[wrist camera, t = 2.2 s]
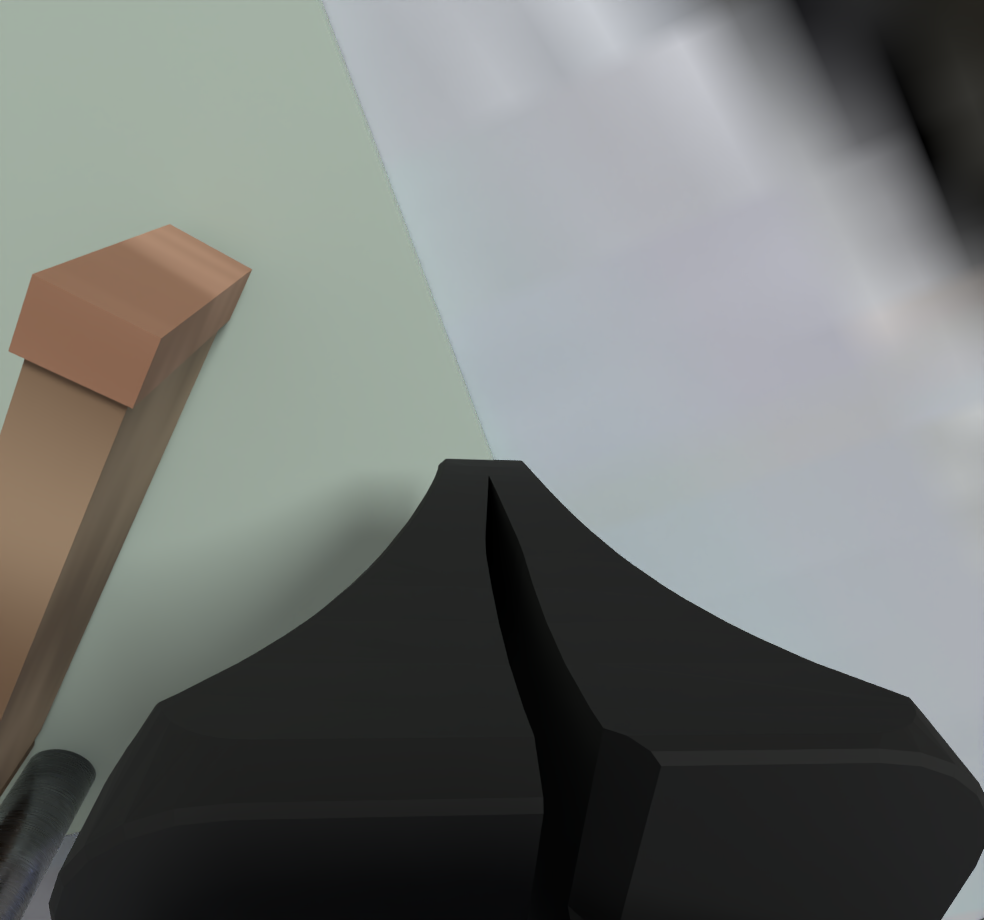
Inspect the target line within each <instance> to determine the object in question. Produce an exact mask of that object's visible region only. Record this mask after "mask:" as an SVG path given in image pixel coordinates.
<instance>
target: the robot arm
mask: <svg viewBox="0 0 984 920" xmlns="http://www.w3.org/2000/svg"><path fill="white" fill-rule="evenodd" d="M983 849H984V792H983V790H982V788H981V786H980V784H979V782H978V781H977V780H976V779H975V777H974V776H973V775H972V774H971V772H970V771H969V770H968V769H967V767H966V766H965V765H964V764H963V763H962V761H961V760H960V759H959V758H958V756H957V755H956V754H955V753H954V751H953V750H952V749H951V748H950V746H949V745H948V744H947V743H946V741H945V740H944V739H943V738H942V737H941V735H940V734H939V733H938V732H937V730H936V729H935V728H934V727H933V725H932V724H931V723H930V722H929V720H928V719H927V718H926V717H925V716H924V714H923V713H922V712H921V711H920V710H919V708H918V707H917V706H916V705H915V704H914V702H913V701H912V700H911V699H910V698H909V697H906V696H904V695H901V694H898V693H895V692H893V691H890V690H887V689H885V688H882V687H879V686H876V685H874V684H871V683H868V682H866V681H863V680H860V679H858V678H855V677H852V676H849V675H847V674H844V673H841V672H839V671H836V670H833V669H831V668H828V667H825V666H822V665H820V664H817V663H814V662H812V661H810V660H807V659H805V658H802V657H800V656H798V655H796V654H793V653H791V652H789V651H787V650H785V649H782V648H780V647H778V646H776V645H773V644H771V643H769V642H767V641H764V640H762V639H760V638H758V637H756V636H754V635H752V634H750V633H747V632H745V631H743V630H741V629H739V628H737V627H735V626H733V625H731V624H729V623H727V622H725V621H724V620H722V619H720V618H718V617H716V616H714V615H713V614H711V613H709V612H707V611H706V610H704V609H702V608H700V607H698V606H697V605H695V604H693V603H691V602H689V601H688V600H686V599H684V598H682V597H681V596H679V595H678V594H676V593H674V592H673V591H671V590H669V589H668V588H666V587H665V586H663V585H662V584H660V583H659V582H657V581H656V580H654V579H653V578H651V577H650V576H648V575H647V574H646V573H644V572H643V571H641V570H640V569H638V568H637V567H635V566H634V565H632V564H631V563H630V562H628V561H627V560H626V559H624V558H623V557H622V556H620V555H619V554H618V553H617V552H615V551H614V550H613V549H612V548H611V547H609V546H608V545H607V544H606V543H605V542H603V541H602V540H601V539H600V538H599V537H597V536H596V535H595V534H594V533H593V532H591V531H590V530H589V529H588V528H587V527H586V526H585V525H584V524H583V523H582V522H580V521H579V520H578V519H577V518H576V517H575V516H574V515H573V514H572V513H571V512H570V511H569V510H568V509H567V508H566V507H565V506H564V505H563V504H562V503H561V502H560V501H559V500H558V499H557V498H556V497H555V496H554V495H553V494H552V493H551V492H550V491H549V490H548V489H547V488H546V487H545V485H544V484H543V483H542V482H541V481H540V480H539V479H538V478H537V477H536V476H535V475H534V473H533V472H532V471H531V470H530V469H529V468H528V467H527V466H526V465H525V464H524V463H523V462H522V461H515V460H477V459H445V460H444V461H442V462H441V463H440V464H439V465H438V470H437V472H436V475H435V477H434V480H433V482H432V484H431V486H430V487H429V489H428V491H427V493H426V495H425V496H424V498H423V499H422V501H421V502H420V504H419V505H418V507H417V508H416V510H415V512H414V513H413V515H412V516H411V518H410V519H409V520H408V522H407V523H406V524H405V526H404V527H403V528H402V529H401V531H400V532H399V533H398V534H397V536H396V537H395V538H394V539H393V541H392V542H391V543H390V544H389V546H388V547H387V548H386V549H385V550H384V551H383V553H382V554H381V555H380V556H379V557H378V558H377V559H376V560H375V561H374V562H373V563H372V564H371V565H370V566H369V568H368V569H367V570H365V571H364V572H363V573H362V574H361V575H360V576H359V577H358V578H357V579H356V580H355V581H354V582H353V583H352V584H351V585H350V586H349V587H347V588H346V589H345V590H344V591H343V592H342V593H340V594H339V595H338V596H337V597H336V598H334V599H333V600H332V601H331V602H330V603H329V604H327V605H326V606H325V607H324V608H323V609H321V610H320V611H319V612H317V613H316V614H315V615H314V616H312V617H311V618H309V619H308V620H307V621H305V622H304V623H302V624H301V625H299V626H298V627H296V628H295V629H293V630H292V631H290V632H289V633H287V634H286V635H284V636H283V637H281V638H279V639H278V640H276V641H274V642H273V643H271V644H270V645H268V646H266V647H265V648H263V649H261V650H260V651H258V652H256V653H255V654H253V655H251V656H249V657H248V658H246V659H244V660H242V661H241V662H239V663H237V664H235V665H233V666H231V667H229V668H227V669H225V670H223V671H221V672H219V673H217V674H215V675H213V676H211V677H209V678H207V679H205V680H203V681H201V682H200V683H198V684H196V685H194V686H192V687H190V688H188V689H186V690H184V691H182V692H180V693H178V694H176V695H174V696H171V697H169V698H167V699H165V700H163V701H161V702H159V703H157V704H156V705H155V707H154V708H153V710H152V711H151V713H150V715H149V716H148V718H147V719H146V721H145V722H144V724H143V725H142V727H141V728H140V730H139V731H138V733H137V734H136V736H135V737H134V739H133V740H132V741H131V743H130V744H129V746H128V747H127V748H126V750H125V752H124V753H123V755H122V756H121V758H120V760H119V761H118V763H117V764H116V766H115V767H114V769H113V771H112V772H111V774H110V775H109V777H108V779H107V780H106V782H105V784H104V786H103V788H102V790H101V792H100V794H99V796H98V798H97V800H96V802H95V804H94V805H93V807H92V809H91V811H90V813H89V815H88V817H87V819H86V821H85V823H84V825H83V827H82V829H81V831H80V833H79V835H78V837H77V839H76V841H75V843H74V845H73V847H72V848H71V850H70V852H69V854H68V856H67V858H66V860H65V862H64V864H63V866H62V868H61V870H60V872H59V874H58V877H57V880H56V883H55V886H54V889H53V892H52V895H51V898H50V901H49V908H50V914H51V919H52V920H941V919H942V917H943V916H944V914H945V913H946V911H947V910H948V908H949V907H950V905H951V904H952V902H953V901H954V899H955V897H956V896H957V894H958V893H959V891H960V890H961V888H962V887H963V885H964V884H965V882H966V881H967V879H968V877H969V876H970V874H971V873H972V871H973V870H974V868H975V867H976V865H977V862H978V860H979V858H980V856H981V854H982V851H983Z"/></svg>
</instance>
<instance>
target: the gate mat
mask: <svg viewBox="0 0 984 920" xmlns="http://www.w3.org/2000/svg"><path fill="white" fill-rule="evenodd" d="M168 224H171V225H172V226H174V227H176V228H178V229H180V230H182V231H183V232H185V233H187V234H189V235H191V236H192V237H194V238H196V239H198V240H200V241H202V242H203V243H205V244H207V245H209V246H211V247H212V248H214V249H216V250H218V251H220V252H222V253H223V254H225V255H227V256H229V257H231V258H232V259H234V260H236V261H238V262H240V263H242V264H243V265H245V266H247V267H249V268H251V269H252V271H251V273H250V276H249V278H248V280H247V282H246V284H245V287H244V289H243V291H242V293H241V296H240V298H239V300H238V302H237V305H236V307H235V309H234V311H233V313H232V316H231V318H230V320H229V321H228V322H227V323H226V324H225V325H224V326H222V327H221V328H220V329H219V330H218V332H217V334H216V336H215V339H214V341H213V343H212V345H211V348H210V350H209V352H208V354H207V357H206V359H205V361H204V363H203V366H202V368H201V370H200V372H199V375H198V377H197V379H196V381H195V384H194V386H193V388H192V390H191V393H190V395H189V397H188V399H187V402H186V404H185V406H184V408H183V411H182V413H181V415H180V417H179V420H178V422H177V424H176V426H175V429H174V431H173V433H172V436H171V438H170V440H169V442H168V445H167V447H166V449H165V451H164V454H163V456H162V458H161V460H160V463H159V465H158V467H157V469H156V472H155V474H154V476H153V478H152V481H151V483H150V485H149V487H148V490H147V492H146V494H145V496H144V499H143V501H142V503H141V505H140V508H139V510H138V512H137V514H136V517H135V519H134V521H133V523H132V526H131V528H130V530H129V533H128V535H127V537H126V539H125V542H124V544H123V546H122V548H121V551H120V553H119V555H118V557H117V560H116V562H115V564H114V566H113V569H112V571H111V573H110V575H109V578H108V580H107V582H106V584H105V587H104V589H103V591H102V593H101V596H100V598H99V600H98V602H97V605H96V607H95V609H94V611H93V614H92V616H91V618H90V620H89V623H88V625H87V627H86V630H85V632H84V634H83V636H82V639H81V641H80V643H79V645H78V648H77V650H76V652H75V654H74V657H73V659H72V661H71V663H70V666H69V668H68V670H67V672H66V675H65V677H64V679H63V681H62V684H61V686H60V688H59V690H58V693H57V695H56V697H55V699H54V702H53V704H52V706H51V708H50V711H49V713H48V715H47V717H46V720H45V722H44V724H43V726H42V729H41V731H40V732H39V734H38V735H37V737H36V738H35V740H34V741H35V743H34V747H33V748H32V750H31V751H30V753H29V754H28V756H27V757H26V759H25V761H24V762H23V764H22V765H21V767H20V768H19V770H18V771H17V773H16V774H15V776H14V777H13V779H12V780H11V782H10V783H9V785H8V786H7V788H6V789H5V791H4V792H3V794H2V795H1V797H0V805H1V803H2V802H3V800H4V799H5V797H6V796H7V794H8V792H9V791H10V789H11V788H12V786H13V785H14V783H15V782H16V780H17V779H18V777H19V776H20V774H21V773H22V771H23V769H24V768H25V766H26V765H27V763H28V762H29V760H30V759H31V757H32V756H34V755H35V754H36V753H38V752H41V751H44V750H49V749H62V750H68V751H71V752H74V753H77V754H79V755H81V756H83V757H84V758H86V759H87V760H88V761H89V762H90V763H91V764H92V765H93V767H94V768H95V771H96V778H95V781H94V783H93V784H92V786H91V788H90V790H89V792H88V794H87V796H86V798H85V799H84V801H83V803H82V805H81V807H80V809H79V811H78V813H77V814H76V816H75V818H74V820H73V822H72V824H71V826H70V828H69V830H68V831H67V833H66V835H70V834H73V833H76V832H80V831H81V829H82V827H83V825H84V823H85V821H86V819H87V817H88V815H89V813H90V811H91V809H92V807H93V805H94V804H95V802H96V800H97V798H98V796H99V794H100V792H101V790H102V788H103V786H104V784H105V782H106V780H107V779H108V777H109V775H110V774H111V772H112V771H113V769H114V767H115V766H116V764H117V763H118V761H119V760H120V758H121V756H122V755H123V753H124V752H125V750H126V748H127V747H128V746H129V744H130V743H131V741H132V740H133V739H134V737H135V736H136V734H137V733H138V731H139V730H140V728H141V727H142V725H143V724H144V722H145V721H146V719H147V718H148V716H149V715H150V713H151V711H152V710H153V708H154V707H155V705H156V704H157V703H159V702H161V701H163V700H165V699H167V698H169V697H171V696H174V695H176V694H178V693H180V692H182V691H184V690H186V689H188V688H190V687H192V686H194V685H196V684H198V683H200V682H201V681H203V680H205V679H207V678H209V677H211V676H213V675H215V674H217V673H219V672H221V671H223V670H225V669H227V668H229V667H231V666H233V665H235V664H237V663H239V662H241V661H242V660H244V659H246V658H248V657H249V656H251V655H253V654H255V653H256V652H258V651H260V650H261V649H263V648H265V647H266V646H268V645H270V644H271V643H273V642H274V641H276V640H278V639H279V638H281V637H283V636H284V635H286V634H287V633H289V632H290V631H292V630H293V629H295V628H296V627H298V626H299V625H301V624H302V623H304V622H305V621H307V620H308V619H309V618H311V617H312V616H314V615H315V614H316V613H317V612H319V611H320V610H321V609H323V608H324V607H325V606H326V605H327V604H329V603H330V602H331V601H332V600H333V599H334V598H336V597H337V596H338V595H339V594H340V593H342V592H343V591H344V590H345V589H346V588H347V587H349V586H350V585H351V584H352V583H353V582H354V581H355V580H356V579H357V578H358V577H359V576H360V575H361V574H362V573H363V572H364V571H365V570H367V569H368V568H369V566H370V565H371V564H372V563H373V562H374V561H375V560H376V559H377V558H378V557H379V556H380V555H381V554H382V553H383V551H384V550H385V549H386V548H387V547H388V546H389V544H390V543H391V542H392V541H393V539H394V538H395V537H396V536H397V534H398V533H399V532H400V531H401V529H402V528H403V527H404V526H405V524H406V523H407V522H408V520H409V519H410V518H411V516H412V515H413V513H414V512H415V510H416V508H417V507H418V505H419V504H420V502H421V501H422V499H423V498H424V496H425V495H426V493H427V491H428V489H429V487H430V486H431V484H432V482H433V480H434V477H435V475H436V472H437V470H438V465H439V464H440V463H441V462H442V461H444V460H445V459H477V460H494V459H493V456H492V454H491V451H490V448H489V446H488V443H487V440H486V438H485V435H484V432H483V430H482V427H481V424H480V422H479V419H478V416H477V414H476V411H475V408H474V406H473V403H472V400H471V398H470V395H469V392H468V390H467V387H466V384H465V382H464V379H463V376H462V374H461V371H460V368H459V366H458V363H457V360H456V358H455V355H454V352H453V350H452V347H451V344H450V342H449V339H448V336H447V334H446V331H445V328H444V326H443V323H442V320H441V318H440V315H439V312H438V310H437V307H436V304H435V302H434V299H433V296H432V294H431V291H430V288H429V286H428V283H427V280H426V278H425V275H424V272H423V270H422V267H421V264H420V262H419V259H418V256H417V254H416V251H415V248H414V246H413V243H412V240H411V238H410V235H409V232H408V230H407V227H406V224H405V222H404V219H403V216H402V214H401V211H400V208H399V206H398V203H397V200H396V198H395V195H394V192H393V190H392V187H391V184H390V182H389V179H388V176H387V174H386V171H385V168H384V166H383V163H382V160H381V158H380V155H379V152H378V150H377V147H376V144H375V142H374V139H373V136H372V134H371V131H370V129H369V126H368V123H367V121H366V118H365V115H364V113H363V110H362V107H361V105H360V102H359V99H358V97H357V94H356V91H355V89H354V86H353V83H352V81H351V78H350V75H349V73H348V70H347V67H346V65H345V62H344V59H343V57H342V54H341V51H340V49H339V46H338V43H337V41H336V38H335V35H334V33H333V30H332V27H331V25H330V22H329V19H328V17H327V14H326V11H325V9H324V6H323V3H322V1H321V0H0V433H1V430H2V427H3V424H4V421H5V418H6V414H7V411H8V408H9V405H10V402H11V399H12V396H13V393H14V390H15V387H16V384H17V381H18V378H19V374H20V371H21V368H22V365H23V362H24V358H22V357H19V356H17V355H15V354H13V353H11V352H9V351H8V350H9V347H10V344H11V341H12V337H13V334H14V331H15V328H16V325H17V321H18V318H19V315H20V312H21V309H22V305H23V302H24V299H25V296H26V293H27V289H28V286H29V283H30V280H31V277H32V274H34V273H37V272H39V271H42V270H45V269H48V268H50V267H53V266H56V265H59V264H61V263H64V262H67V261H70V260H72V259H75V258H78V257H80V256H83V255H86V254H89V253H91V252H94V251H97V250H100V249H102V248H105V247H108V246H111V245H113V244H116V243H119V242H122V241H124V240H127V239H130V238H133V237H135V236H138V235H141V234H144V233H146V232H149V231H152V230H155V229H157V228H160V227H163V226H166V225H168ZM66 835H65V836H66Z"/></svg>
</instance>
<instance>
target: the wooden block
mask: <svg viewBox="0 0 984 920" xmlns="http://www.w3.org/2000/svg"><path fill="white" fill-rule="evenodd" d="M251 271H252V269H251V268H249V267H247V266H245V265H243V264H242V263H240V262H238V261H236V260H234V259H232V258H231V257H229V256H227V255H225V254H223V253H222V252H220V251H218V250H216V249H214V248H212V247H211V246H209V245H207V244H205V243H203V242H202V241H200V240H198V239H196V238H194V237H192V236H191V235H189V234H187V233H185V232H183V231H182V230H180V229H178V228H176V227H174V226H172V225H171V224H168V225H166V226H163V227H160V228H157V229H155V230H152V231H149V232H146V233H144V234H141V235H138V236H135V237H133V238H130V239H127V240H124V241H122V242H119V243H116V244H113V245H111V246H108V247H105V248H102V249H100V250H97V251H94V252H91V253H89V254H86V255H83V256H80V257H78V258H75V259H72V260H70V261H67V262H64V263H61V264H59V265H56V266H53V267H50V268H48V269H45V270H42V271H39V272H37V273H34V274H32V277H31V280H30V283H29V286H28V289H27V293H26V296H25V299H24V302H23V305H22V309H21V312H20V315H19V318H18V321H17V325H16V328H15V331H14V334H13V337H12V341H11V344H10V347H9V350H8V351H9V352H11V353H13V354H15V355H17V356H19V357H22V358H24V362H23V365H22V368H21V371H20V374H19V378H18V381H17V384H16V387H15V390H14V393H13V396H12V399H11V402H10V405H9V408H8V411H7V414H6V418H5V421H4V424H3V427H2V430H1V433H0V797H1V795H2V794H3V792H4V791H5V789H6V788H7V786H8V785H9V783H10V782H11V780H12V779H13V777H14V776H15V774H16V773H17V771H18V770H19V768H20V767H21V765H22V764H23V762H24V761H25V759H26V757H27V756H28V754H29V753H30V751H31V750H32V748H33V747H34V743H35V741H34V740H35V738H36V737H37V735H38V734H39V732H40V731H41V729H42V726H43V724H44V722H45V720H46V717H47V715H48V713H49V711H50V708H51V706H52V704H53V702H54V699H55V697H56V695H57V693H58V690H59V688H60V686H61V684H62V681H63V679H64V677H65V675H66V672H67V670H68V668H69V666H70V663H71V661H72V659H73V657H74V654H75V652H76V650H77V648H78V645H79V643H80V641H81V639H82V636H83V634H84V632H85V630H86V627H87V625H88V623H89V620H90V618H91V616H92V614H93V611H94V609H95V607H96V605H97V602H98V600H99V598H100V596H101V593H102V591H103V589H104V587H105V584H106V582H107V580H108V578H109V575H110V573H111V571H112V569H113V566H114V564H115V562H116V560H117V557H118V555H119V553H120V551H121V548H122V546H123V544H124V542H125V539H126V537H127V535H128V533H129V530H130V528H131V526H132V523H133V521H134V519H135V517H136V514H137V512H138V510H139V508H140V505H141V503H142V501H143V499H144V496H145V494H146V492H147V490H148V487H149V485H150V483H151V481H152V478H153V476H154V474H155V472H156V469H157V467H158V465H159V463H160V460H161V458H162V456H163V454H164V451H165V449H166V447H167V445H168V442H169V440H170V438H171V436H172V433H173V431H174V429H175V426H176V424H177V422H178V420H179V417H180V415H181V413H182V411H183V408H184V406H185V404H186V402H187V399H188V397H189V395H190V393H191V390H192V388H193V386H194V384H195V381H196V379H197V377H198V375H199V372H200V370H201V368H202V366H203V363H204V361H205V359H206V357H207V354H208V352H209V350H210V348H211V345H212V343H213V341H214V339H215V336H216V334H217V332H218V330H219V329H220V328H221V327H222V326H224V325H225V324H226V323H227V322H228V321H229V320H230V318H231V316H232V313H233V311H234V309H235V307H236V305H237V302H238V300H239V298H240V296H241V293H242V291H243V289H244V287H245V284H246V282H247V280H248V278H249V276H250V273H251Z"/></svg>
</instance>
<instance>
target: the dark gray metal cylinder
mask: <svg viewBox="0 0 984 920" xmlns="http://www.w3.org/2000/svg"><path fill="white" fill-rule="evenodd" d="M95 778H96V771H95V768H94V767H93V765H92V764H91V763H90V762H89V761H88V760H87V759H86V758H84V757H83V756H81V755H79V754H77V753H74V752H71V751H68V750H62V749H49V750H44V751H41V752H38V753H36V754H35V755H34V756H32V757H31V759H30V760H29V762H28V763H27V765H26V766H25V768H24V769H23V771H22V773H21V774H20V776H19V777H18V779H17V780H16V782H15V783H14V785H13V786H12V788H11V789H10V791H9V792H8V794H7V796H6V797H5V799H4V800H3V802H2V803H1V805H0V920H21V918H22V916H23V914H24V912H25V910H26V908H27V907H28V905H29V903H30V901H31V899H32V897H33V895H34V893H35V892H36V890H37V888H38V886H39V884H40V882H41V880H42V878H43V876H44V875H45V873H46V871H47V869H48V867H49V865H50V863H51V861H52V860H53V858H54V856H55V854H56V852H57V850H58V848H59V846H60V845H61V843H62V841H63V839H64V837H65V835H66V833H67V831H68V830H69V828H70V826H71V824H72V822H73V820H74V818H75V816H76V814H77V813H78V811H79V809H80V807H81V805H82V803H83V801H84V799H85V798H86V796H87V794H88V792H89V790H90V788H91V786H92V784H93V783H94V781H95Z"/></svg>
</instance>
